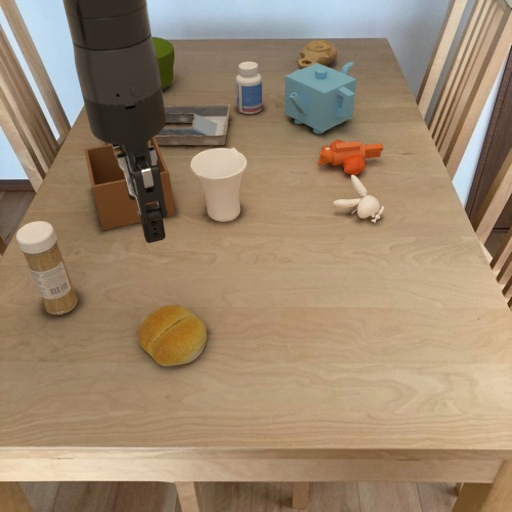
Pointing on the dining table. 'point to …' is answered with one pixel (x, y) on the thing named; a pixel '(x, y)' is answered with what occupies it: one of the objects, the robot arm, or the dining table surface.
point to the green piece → (164, 60)
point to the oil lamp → (317, 54)
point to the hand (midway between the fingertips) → (146, 217)
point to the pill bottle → (249, 88)
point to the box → (120, 187)
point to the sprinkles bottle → (47, 266)
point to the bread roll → (172, 335)
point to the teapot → (320, 96)
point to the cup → (220, 180)
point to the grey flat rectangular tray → (195, 125)
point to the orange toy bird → (349, 155)
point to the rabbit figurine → (361, 202)
